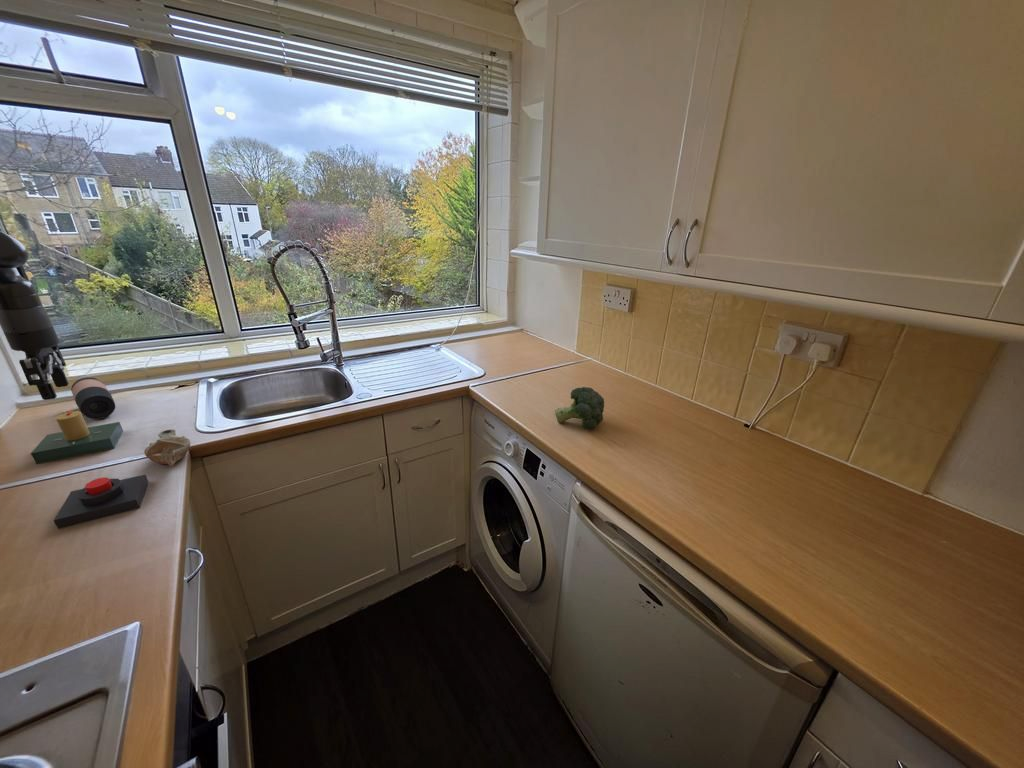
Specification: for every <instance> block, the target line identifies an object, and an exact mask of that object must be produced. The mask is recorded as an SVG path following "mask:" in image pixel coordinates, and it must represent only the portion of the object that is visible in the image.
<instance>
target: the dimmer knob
mask: <svg viewBox="0 0 1024 768" xmlns="http://www.w3.org/2000/svg"><path fill="white" fill-rule="evenodd" d="M83 416H84V415H83V414H82V412H81V411H80V410H75V411H72V410H68V412H65V413H61V414H59V415H57V416H56V417H55V420H56V423H57V424H58V427H59V429H60V432H62V433H63V435H64V437H65V439H66V440H68V441H72V440H78V439H81V438H84V437H86V436H88V435H89V434H90V432H89V429H88V427H89V426H88V425H87V422H86V421H85V418H84V417H83Z"/></svg>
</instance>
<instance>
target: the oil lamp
mask: <svg viewBox="0 0 1024 768" xmlns="http://www.w3.org/2000/svg"><path fill="white" fill-rule="evenodd" d="M158 437H159V439H157V440H156V441H155V442H150V443H149V444H148V446H147V447H145V449H144V451H143V452H144V456H145V457H146V458H147V459H149V460H150V461H152V462H154V463H156V464H160V465H168V466H169V467H173V466H174V465H175V463H176V462H179V461H180V460H182V459H183V458H184V457H185V456H186V455H187V453H188V452H189V451H190V448H191V440H190V439H189V438H188V437H185V435H182V436H177V434H176V429H166V430H163V431H160V432H159V433H158Z"/></svg>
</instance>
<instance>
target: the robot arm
mask: <svg viewBox="0 0 1024 768" xmlns="http://www.w3.org/2000/svg"><path fill="white" fill-rule="evenodd" d="M29 256H30V255H29V251H28V249H27V248H26V246H25V244H23V243H22V242H21V241H20V240H18V239H17V238H16V237H14V236H12V235H10V234H8V233H6V232H4V231H2V230H0V328H1V330H2V333H3V335H4V337H5V339H6V341H7V343H8V346H9V347H10V349H11V350H13V351H16V352H23V353H24V355H25V358H24V359H19V362H18V363H19V365H20V367H21V370H22V372H23V375H24V376H25V380H26V382H27V384H28V385H29V386H36V388H37V391H38V392H39V395H40V396H41V399H42V400H43V401H49V400H55V399H57V397H58V395H57V393H56V390H55V389H54V386H55V387H56V388H63V387H64V388H65V387H68V386H69V385H70V383H69V380H68V378H67V375H66V373H65V367H66V366H67V363H66V361H65V359H64V357H63V354H62V352H61V350H60V348H59V344H60V339H59V337H58V335H57V333H56V330H55V327H54V325H53V323H52V319H51V318H50V315H49V313H48V312H47V310H46V309H45V307H44V305H43V303H42V300H41V297H40V295H39V293H38V291H37V288H36V286H35V285H34V283H32V282H31V281H30V280H28V279H27V278H24V277H23V276H22V275H21V274H20V272H19V271H18V269H17V268H19V267H22V266H23V265H26V264H27V263H28V260H29V258H30V257H29ZM51 379H52V381H53V384H54V386H53V384H52V381H51Z"/></svg>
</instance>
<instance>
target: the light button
mask: <svg viewBox="0 0 1024 768" xmlns="http://www.w3.org/2000/svg"><path fill="white" fill-rule="evenodd" d="M110 479H111V478H110V477H106V476H105V477H99V478H95V479H93V480H91V481H89V482H87V483H85V485H84V488H86V490H87V492H88V494H89V495H94V494H99V493H102V492H104V491H106V490H109V489H110V488H111V487H112V484H111V481H110Z"/></svg>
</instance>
